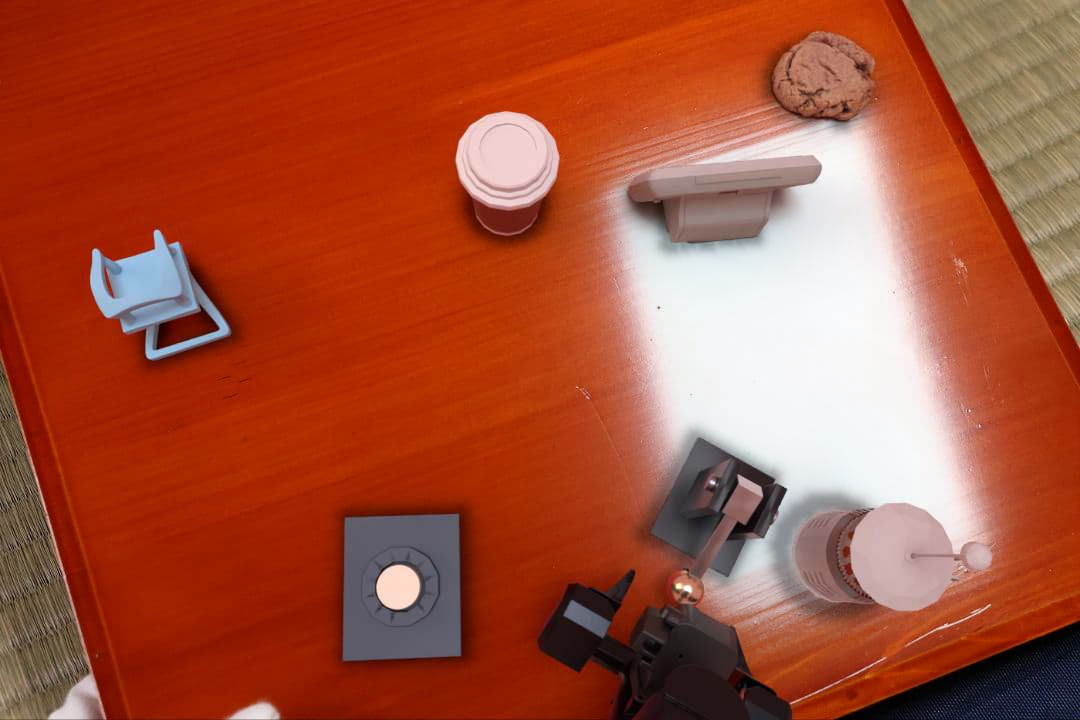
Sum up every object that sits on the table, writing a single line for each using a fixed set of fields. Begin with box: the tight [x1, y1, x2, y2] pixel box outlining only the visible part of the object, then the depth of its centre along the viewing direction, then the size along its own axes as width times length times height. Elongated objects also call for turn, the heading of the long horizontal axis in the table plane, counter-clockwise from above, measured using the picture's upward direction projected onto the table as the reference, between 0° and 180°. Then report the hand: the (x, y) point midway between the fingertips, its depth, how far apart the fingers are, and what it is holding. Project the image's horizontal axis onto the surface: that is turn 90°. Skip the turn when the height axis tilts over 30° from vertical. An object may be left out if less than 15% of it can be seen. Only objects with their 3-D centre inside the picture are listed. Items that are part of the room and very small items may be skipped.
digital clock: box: [627, 154, 823, 244], centre depth 81 cm, size 16×9×11 cm, turn 85°
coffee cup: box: [454, 110, 561, 237], centre depth 80 cm, size 9×9×12 cm
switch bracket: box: [648, 436, 788, 578], centre depth 74 cm, size 10×8×12 cm
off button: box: [376, 565, 422, 610], centre depth 73 cm, size 4×4×2 cm
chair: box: [89, 229, 232, 361], centre depth 76 cm, size 8×8×12 cm
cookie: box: [770, 30, 876, 121], centre depth 89 cm, size 10×11×3 cm
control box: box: [342, 513, 463, 662], centre depth 75 cm, size 12×10×4 cm
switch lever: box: [666, 475, 763, 607], centre depth 71 cm, size 12×3×3 cm, turn 151°
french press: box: [791, 502, 994, 612], centre depth 67 cm, size 10×12×25 cm
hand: (680, 600), depth 71 cm, fingers open, 9 cm apart
